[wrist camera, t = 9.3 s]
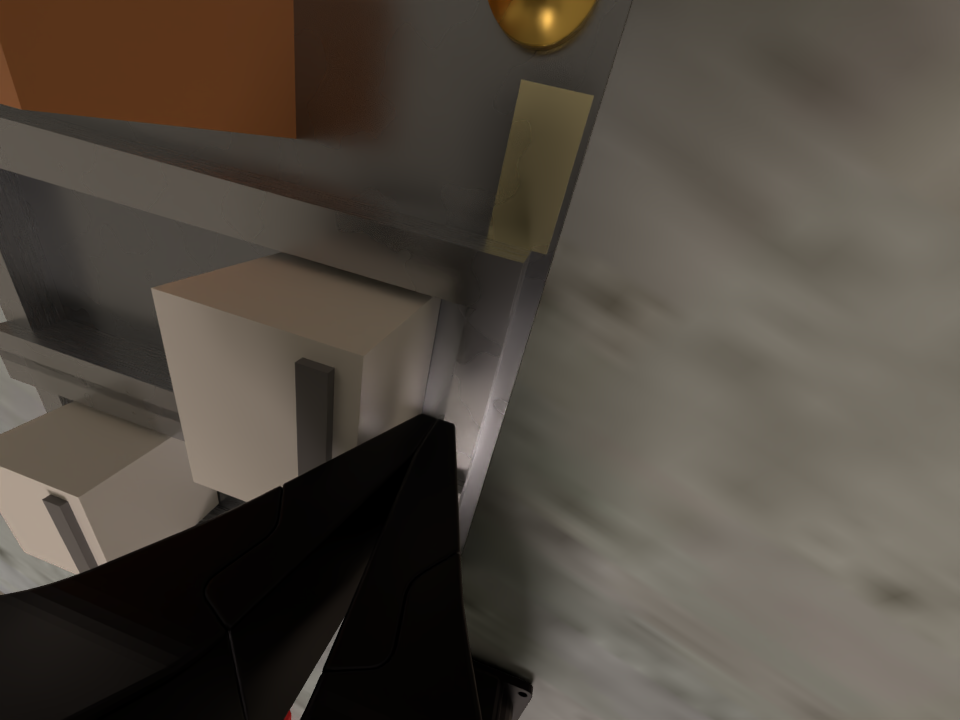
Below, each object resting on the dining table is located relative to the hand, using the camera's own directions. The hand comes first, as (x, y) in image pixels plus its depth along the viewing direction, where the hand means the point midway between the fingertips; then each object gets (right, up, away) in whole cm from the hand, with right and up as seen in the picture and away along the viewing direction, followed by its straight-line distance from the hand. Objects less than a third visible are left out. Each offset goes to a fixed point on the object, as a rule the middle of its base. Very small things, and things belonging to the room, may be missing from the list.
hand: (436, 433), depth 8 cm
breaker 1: (-12, -2, +7) cm, 14 cm away
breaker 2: (-2, +2, +3) cm, 4 cm away
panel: (-6, +3, +5) cm, 9 cm away
